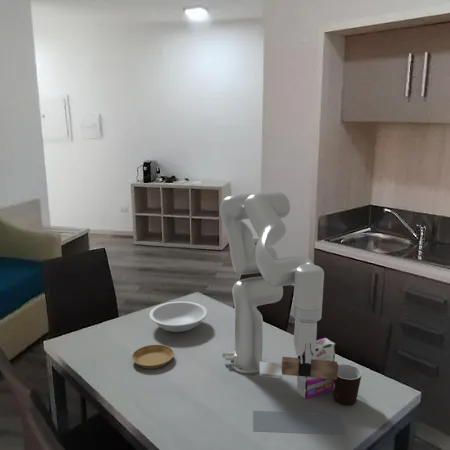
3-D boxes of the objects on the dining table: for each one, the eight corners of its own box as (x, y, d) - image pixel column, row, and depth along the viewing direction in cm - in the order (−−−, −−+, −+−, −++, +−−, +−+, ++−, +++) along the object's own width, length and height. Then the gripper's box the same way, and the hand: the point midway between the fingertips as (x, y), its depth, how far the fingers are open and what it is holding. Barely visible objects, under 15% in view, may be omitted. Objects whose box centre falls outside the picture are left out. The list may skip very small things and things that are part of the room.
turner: (259, 376, 122) (261, 363, 121) (259, 363, 127) (260, 351, 126) (337, 383, 121) (339, 370, 120) (333, 370, 127) (335, 358, 126)
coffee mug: (354, 413, 132) (357, 382, 129) (326, 403, 136) (328, 374, 134) (365, 393, 141) (367, 364, 139) (338, 385, 146) (340, 357, 143)
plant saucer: (132, 374, 153) (132, 367, 152) (132, 353, 167) (131, 346, 166) (176, 369, 156) (175, 362, 155) (172, 348, 170) (171, 342, 169)
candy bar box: (323, 382, 147) (325, 336, 143) (333, 390, 143) (336, 343, 139) (295, 392, 142) (297, 344, 138) (305, 400, 138) (307, 351, 134)
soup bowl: (159, 313, 200) (158, 299, 199) (212, 316, 197) (212, 302, 195) (142, 338, 177) (141, 323, 176) (202, 342, 174) (201, 327, 172)
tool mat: (253, 432, 123) (253, 431, 123) (253, 412, 132) (253, 410, 132) (345, 436, 122) (345, 434, 122) (339, 415, 131) (339, 413, 131)
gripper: (290, 298, 127) (287, 356, 132) (295, 324, 112) (292, 389, 116) (317, 299, 127) (313, 357, 132) (326, 325, 112) (321, 390, 116)
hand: (303, 372), depth 124 cm, fingers closed on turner, 2 cm apart
